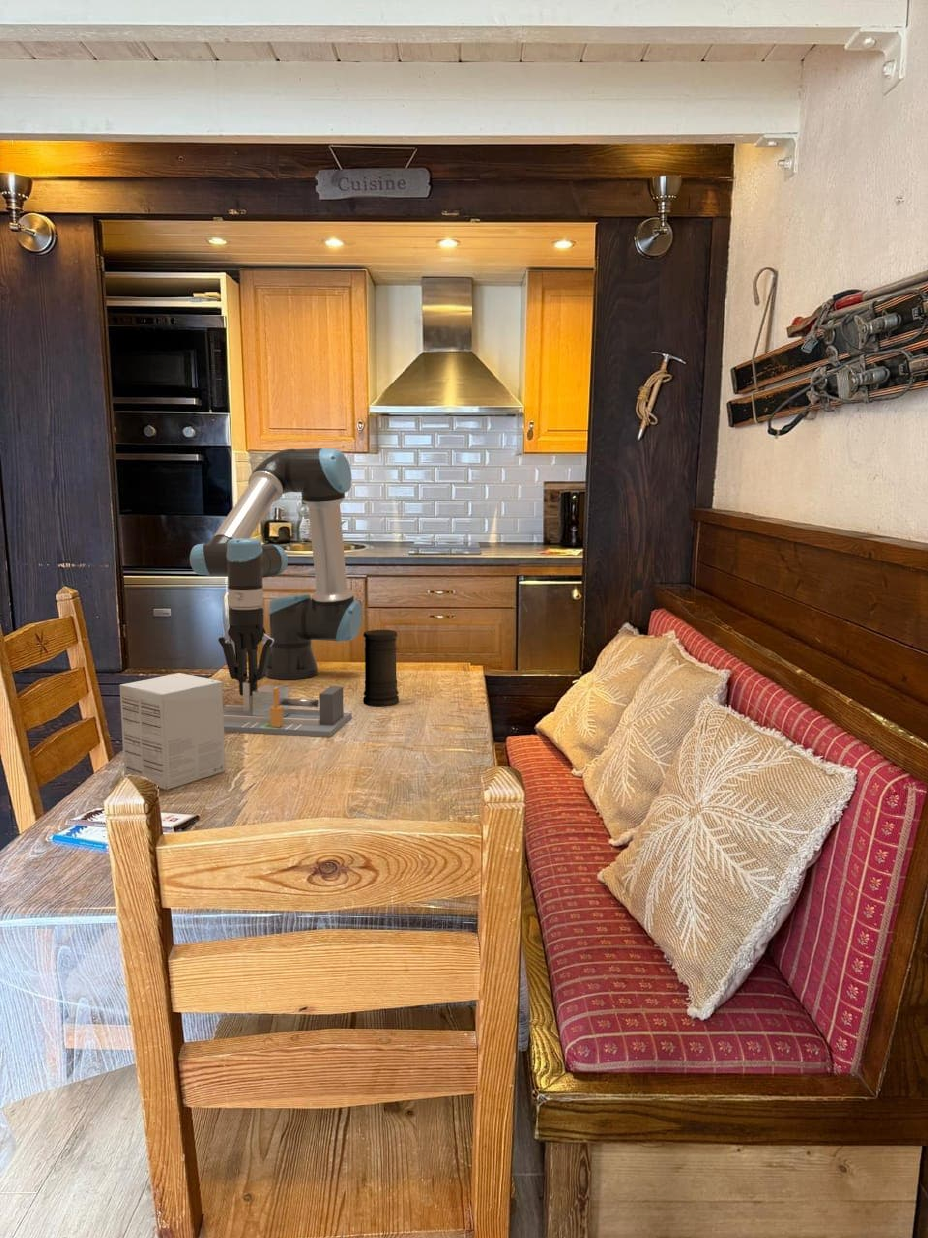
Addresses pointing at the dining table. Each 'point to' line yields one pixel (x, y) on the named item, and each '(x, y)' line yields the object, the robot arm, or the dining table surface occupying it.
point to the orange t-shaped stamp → (276, 710)
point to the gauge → (266, 701)
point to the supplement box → (173, 729)
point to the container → (380, 668)
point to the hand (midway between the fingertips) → (248, 709)
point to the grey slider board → (293, 718)
